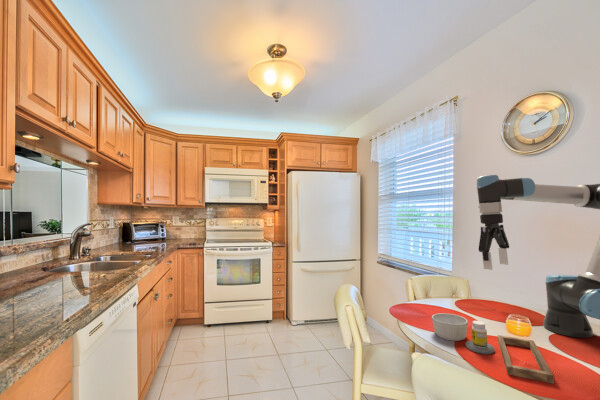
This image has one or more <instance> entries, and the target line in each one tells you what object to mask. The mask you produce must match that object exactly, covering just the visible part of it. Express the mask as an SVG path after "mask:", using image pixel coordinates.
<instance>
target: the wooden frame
mask: <svg viewBox="0 0 600 400" xmlns="http://www.w3.org/2000/svg"><path fill="white" fill-rule="evenodd" d="M497 342H498V347H499V349H500V353H501V358H502V359H503V360H502V361H503V363H504V366H505V367H504V368H505V370H506V373H507V375H510V376H515V377H519V378H524V379H527V380H528V379H529V380H533V381H538V382H543V383H547V384H553V385H554V384H555V381H554V380H555V379H554V374H553V372H552V370H551V369H550V367H549V366H548V363H547V362H546V360H545V357H544V356H543V355H542V353H541V351H540V350H539V348H538V346H537V344H536V343H535V341H534V340H531V339H524V338H519V337H512V336H505V335H499V334H497ZM508 344H509V345H508ZM506 345H508V346H514V345H515V346H516V347H521V348H527V349H529V350H530V351H531V353H532V355H534V356H533V357H535V358H534V360H535V359H536V360H535V361H536V363H537V365H538V367H539V369H535V368H534V369H533V368H530V367H529V368H528V367H525V366H523V367H522V366H518V365H513V363H512V361H511V356H510V353H509V352H508V348H507V346H506Z"/></svg>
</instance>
